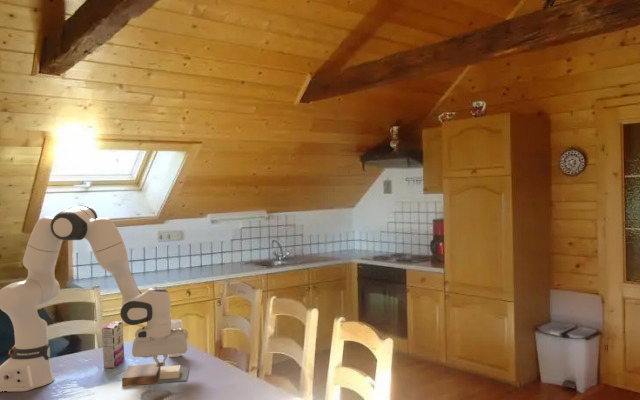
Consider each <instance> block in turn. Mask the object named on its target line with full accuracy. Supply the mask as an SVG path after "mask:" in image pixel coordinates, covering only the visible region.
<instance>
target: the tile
mask: <svg viewBox="0 0 640 400" xmlns="http://www.w3.org/2000/svg"><path fill="white" fill-rule="evenodd" d="M181 368H182V367H181V364H179V365H167V366H166V365H165V366H162V367H160V379H168V378H179V376H180V373H181Z"/></svg>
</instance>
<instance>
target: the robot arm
mask: <svg viewBox="0 0 640 400" xmlns="http://www.w3.org/2000/svg"><path fill="white" fill-rule="evenodd" d="M83 239H85V240H87V242H88V243H89V244H90V248H91V250H92V252H93V255H94V256H95V257H94V258H95V259H96V261H97V263H98V265H99V266H100V267H101V269H103V270H104V271H106V272H108V273H109V274H111V276H112V278H113V279H114V281H115V282H116V285H117V287H118V290H119V291H120V294H121V296H122V297H121V298H122V302H121V303H122V305H121V309H120V313H119V314H120V318H121V320H122V321H123V322H124V323H125V324H127V325H130V326H134V325H135V326H136V325H140V324H144V323H147V324H146V325H145V326H142V327H139V328H138V329H136V331H135V332H134V336H135V337H134V340H133V342H132V347H131V348H132V349H131V351H132V352H131V354H132V356H133V357H134V358H140V357H142V358H143V357H153V360H154V362H155V364H157V367H160V368H162V367H163V366H166V361H167V359H168V357H169V354H181V355H182V354H186V353H187V352H188V350H189V349H188V347H189V346H188V339H189V334H188V333H189V332H188V331H187V330H186V329H184V328H182V329H172V328H171V320H172V318H171V311H172V309H171V307H172V305H171V296H170V293H169V291H168V290H167V289H165V288H163V287H157V286H156V287H155V286H154V287H149V288H148V289H146V290H145V291H143V292H141V291H140V289H139V288H138V286H137V284H136V281H135V279H134V277H133V274H132V272H131V269H130V264H129V257H128V251H127V248H126V245H125V242H124V239H123V237H122V235H121V233H120V231H119V229H118V228H117V227H116V225H115V223H114V222H113V221H112V219H111V218H108V217H98V214H97V212H96V211H95V209H93V208H92V207H90V206H88V205H77V206H72V207H68V208H66V209H64V210H63V211H60V212H58V213H56V215H54V217H52V216H44V217H41V218H39V219H38V220H37V222H36V223H35V225H34V226H33V229H32V231H31V234H30V236H29V237H28V242H27V245H26V248H25V251H24V255H23V258H22V264H23V266H24V268H26V270H27V277H26V279H23V280H20V281H15V282H11V283H9V284H8V285H6V286H4V287H2V288H0V310H1V311H2V312H4V313H5V315H7V316H8V317H9V319H10V321H11V323H12V326H13V331H14V332H13V334H14V335H13V336H14V345H13V346H12V347H11V348H10V349H9V351H8V356H9V358H7V360H5V361H3V363H2V364H0V392H2V391H3V392H2V393H4V391H7V392H27V391H28V392H29V391H31V390H33V389H36V388H39V387H43V386H46V385H48V384H51V383H52V382H53V381H55V377H54V374H53V370H52V365H51V360H50V357H51V345H50V342H49V333H48V331H49V329H48V327H49V326H48V322H47V321H46V320H45V319H43V318H42V317H40V315H39V312H38V308H39V307H41V306H45V305H48V304H50V303H51V302H53V301H54V300H55V299H57V298H58V297H59V295H60V292H61V286H60V283H59V281H58V280H57V278H56V276H55V275H56V274H55V270H56V265H57V261H58V258H59V254H60V251H61V247H62V244H63V241H82V240H83ZM158 356H162V357H163V360H159V358H158Z"/></svg>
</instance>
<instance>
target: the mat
mask: <svg viewBox="0 0 640 400" xmlns="http://www.w3.org/2000/svg"><path fill="white" fill-rule="evenodd" d="M189 373H190V368H189V367H185V368H183V367H181V373H180V376H179V378H168V379H160V373H159V376H158V379H157V382H156V384H167V383H177V382H187V381H188V378H189V377H188V376H189Z"/></svg>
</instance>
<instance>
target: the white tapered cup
mask: <svg viewBox="0 0 640 400" xmlns="http://www.w3.org/2000/svg"><path fill="white" fill-rule="evenodd" d="M171 328H172V329H183V321H182V319H180V318H179V319H178V318H175V319H174V318H173V319H172V318H171ZM180 356H182V354H169V355H168V357H170V358H179V357H180Z"/></svg>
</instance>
